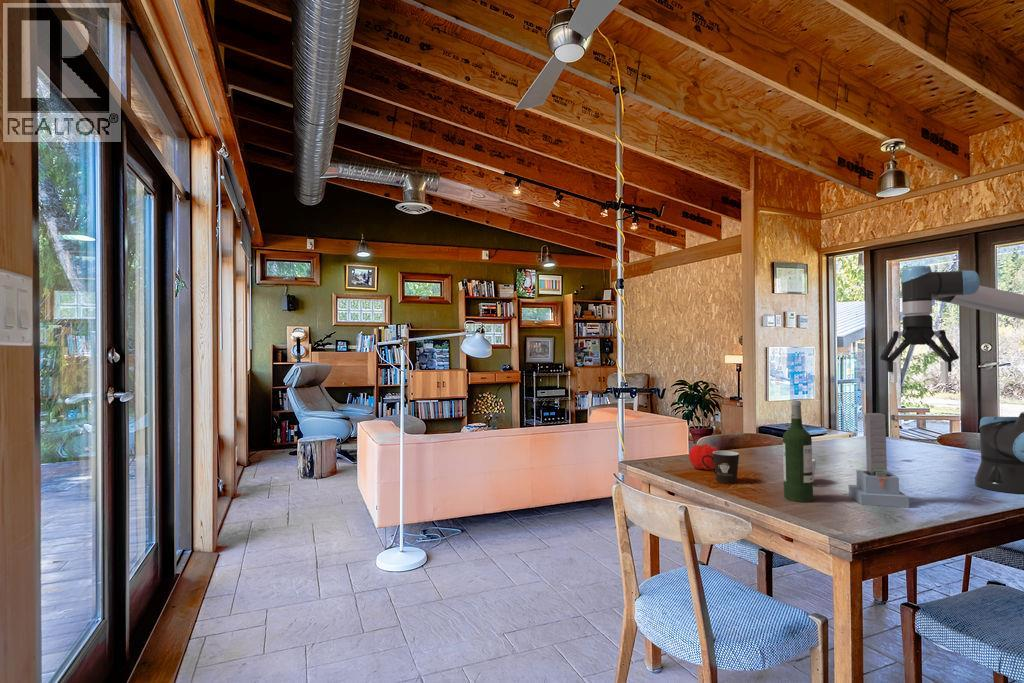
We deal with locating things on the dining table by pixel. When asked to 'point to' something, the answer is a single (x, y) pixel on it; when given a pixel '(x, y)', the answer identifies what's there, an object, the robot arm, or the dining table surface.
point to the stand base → (878, 490)
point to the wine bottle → (797, 459)
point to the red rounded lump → (699, 452)
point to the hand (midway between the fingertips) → (919, 382)
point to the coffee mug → (724, 466)
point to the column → (875, 443)
